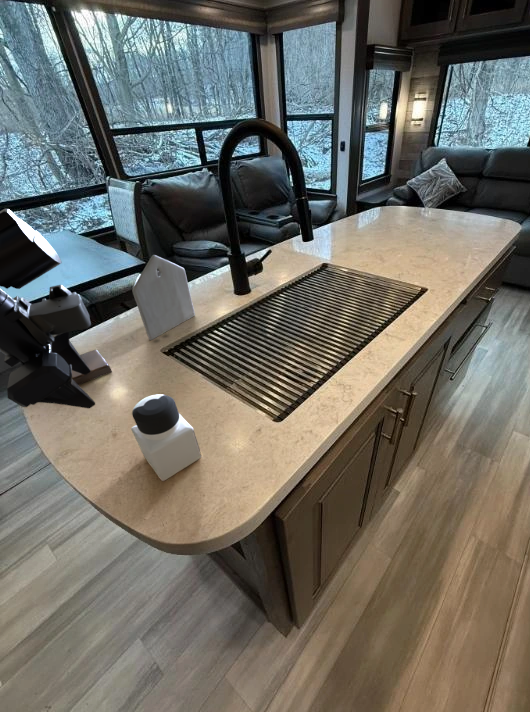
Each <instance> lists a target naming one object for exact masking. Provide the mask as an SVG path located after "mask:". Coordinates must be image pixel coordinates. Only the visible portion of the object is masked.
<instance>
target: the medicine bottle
mask: <svg viewBox="0 0 530 712" xmlns="http://www.w3.org/2000/svg"><path fill="white" fill-rule="evenodd" d="M131 411H132V412H131V415H132V418H133V420H134V422H135V425H134V426H131V428H130V429H131V432H132V434H133V436H134V439H135V441H136V443H137V445H138V447H139V449H140V451H141V454H142V456H143V458H145V460H146V461H147V463H148V464H149V466H150V467H151V468H152V470H153V471H154V472H155V474H156V475H157V477H158V478H159V480H161V481H162V482H165V481H167V480H168V479H169V478H171V477H173V476H174V475H176V474H177V473H179V472H180V471H183V469H185V468H187V467H189V466H190V465H192V464H193V463H195V462H197V461H198V460H200V459H201V458H202V456H203V455H202V451H201V449H200V446H199V442H198V439H197V436H196V432H195V430H194V427H193V426H192V425H191V424H190V423H189V422H188V421H187V420H186V419H185V418H184V417H183V416H182V415H181V414H180V413H179V410H178V407H177V404H176V401H175V399H174V398H173V397H171V395H170V396H169V395H168V394H161V393H159V394H158V393H157V394H152V395H149V396H146V397H144V398H142V399H141V400H139V401H138V402H137V403H136V404H135V406H134V407H133V408H132V410H131Z"/></svg>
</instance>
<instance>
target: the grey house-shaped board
mask: <svg viewBox="0 0 530 712" xmlns="http://www.w3.org/2000/svg"><path fill="white" fill-rule="evenodd" d="M131 290H132V295H133V297H134V301H135V303H136V306H137V309H138V312H139V315H140V317H141V320H142V324H143V326H144V330H145V333H146V335H147V338H148V340H149V341H153V340H154V339H156V338H158V337H160V336H161V335H163V334H165V333H167V332H169V331H170V330H172V329H174V328H175V327H177V326H179V325H181V324H183V323H185V322H186V321H188V320H190V319H191V318H193V317H195V316H196V313H195V308H194V304H193V300H192V295H191V290H190V287H189V282H188V278H187V274H186V270H185V268H184V267H182V266H180V265H178V264H176V263H174V262H172V261H170V260H168V259H166V258H163V257H161V256H158V255H156V254H153V255H151V257H150V258H149V260H148V261H147V263H146V265H145V267H144V268H143V270H142V272H141V273H139V274H138V276H137V278H136V280H135V282H134V285H133V286H132V289H131Z"/></svg>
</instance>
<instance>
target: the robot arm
mask: <svg viewBox="0 0 530 712" xmlns="http://www.w3.org/2000/svg"><path fill="white" fill-rule="evenodd" d="M61 264H63V261H62V259H61V257H60V256H59V254H58V253H57V251H56V250H55V249H54V248H53V246H52V245H51V244H50V243H49V242H48V241H47V239H46V238H45V237H44V236H42V234H41V233H40V232H39V231H38V230H34V229H33V228H32V227H31V226H30V225H29V224H28V223H27V222H25V221H24V220H22V219H21V218H19V217H18V216H17V215H16V214H15V213H14V212H13V211H12V210H10V209H9V208H7V207H6V208H4V209H1V210H0V353H2V354H4V362H3V363H5V364H7V365H8V366H10V368H13V367H15V366H16V365H17V364H19V363H20V362H21V363H24V364H21V366H19V367H17V368H16V369H14V370H12V371H11V372H9V377H8V383H7V387H6V388H7V389H6V393H7V399H8V400H10V401H11V402H13V403H15V404H17V405H19V406H20V407H22V408H28V407H30V406H35V405H37V404H38V403H39V404H40V403H41V404H54V405H63V406H69V407H77V408H83V409H92V408H93V407H94V406H95V405H96V402H95V401H94V399H93V398H92V396H90V394H88V393H87V392H86V391H85V390H84V389H83V388H82V387H81V386H80V384H79V385H78V384H77V383H76V382H75V381H74V380H73V379H72V370H73V371H75V372H78V373H81V374H84V375H87V374H88V373H90V372H91V370H90V368H89V367H88V366H87V364H86V363H85V361H84V360H83V359H82V357H81V356H80V355H81V354H80V353H79V352H78V350H77V349H76V347H75V346H74V345H73V344H72V342H71V340H70V332H74V331H76V330H77V331H83V330H86V329H88V328H90V327H91V325H92V323H91V319H90V317H91V315H90V313H89V312H88V309H87V307H86V306H85V304H84V301H83V298H82V297H81V295H80V294H78V293H77V292H76V291H73V292H71V290H69V289H68V288H66V286H64V285H63V284H57V285H52V286H50V287H49V291H48V292H49V293H48V299H47V298H42V300H41V301H40V302H35V303H30V302H29V300H26V298H24V297H23V296H22V297H19V296H18V295H16V296H14V297H12V296H10V295H9V294H8V293H7V292H6V291H4V290H3V289H1V287H2V288H5V289H6V290H7V289H10V288H13V289H17V290H20V289H22V288H23V287H25V286H27V285H28V284H31V283H32V282H33V281H35V280H36V279H38V278H40V277H41V276H44V275H45V274H46V273H48V272H49V271H51V270H53V269H55V268H56V267H57V266H59V265H61Z"/></svg>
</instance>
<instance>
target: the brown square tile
mask: <svg viewBox="0 0 530 712" xmlns="http://www.w3.org/2000/svg"><path fill="white" fill-rule="evenodd" d="M79 355H80V356H81V357H82V359H83V360H84V361H85V363H86V364H87V366H88V367H89V368H90V370H91V372H90V373H88V374H87V375H84V374H81V373H78V372H75V371H73V370H72V379H73V380H74V381H75V382H76V383H77V384H78V385H79V386H80V385H82V384H85V383H87V382H90V381H93V380H94V379H97V378H100V377H102V376H105V375H107V374H110V373H112V372H113V371H112V368H111V366H110V365H109V364H108V362H107V361H106V359H105V358H104V357H103V355H102V354H101V353H100V352H99V350H97V349H93V350H90V351H87V352H84V353H81V354H79Z"/></svg>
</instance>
